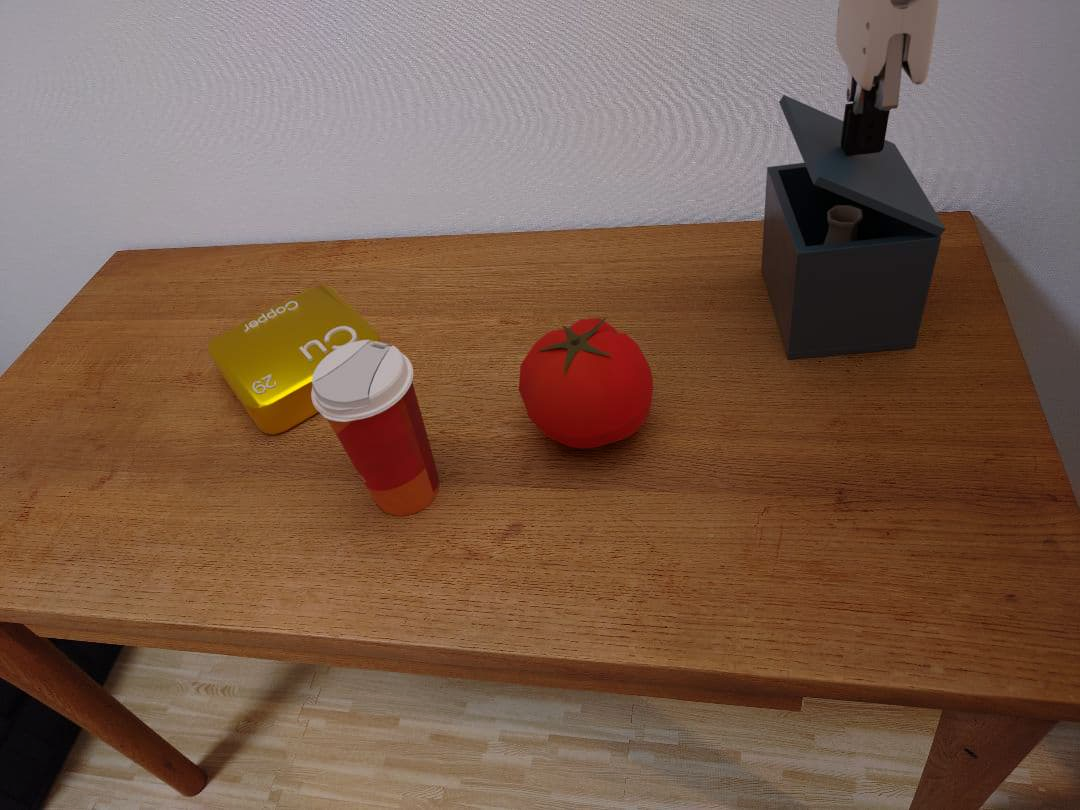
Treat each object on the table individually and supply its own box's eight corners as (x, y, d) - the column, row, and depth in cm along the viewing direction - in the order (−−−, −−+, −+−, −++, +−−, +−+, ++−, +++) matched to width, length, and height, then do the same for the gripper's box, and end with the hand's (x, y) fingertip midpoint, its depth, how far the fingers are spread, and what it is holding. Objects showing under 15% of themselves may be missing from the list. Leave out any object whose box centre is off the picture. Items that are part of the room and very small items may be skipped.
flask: (809, 271, 85) (818, 188, 78) (880, 286, 82) (896, 199, 75) (786, 312, 81) (793, 228, 74) (859, 329, 78) (874, 242, 71)
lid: (813, 184, 64) (819, 176, 63) (778, 102, 74) (783, 94, 74) (939, 236, 67) (946, 229, 67) (889, 150, 78) (894, 143, 77)
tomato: (667, 391, 77) (662, 299, 69) (641, 482, 69) (632, 391, 62) (549, 377, 81) (532, 289, 73) (512, 463, 73) (489, 375, 65)
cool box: (787, 359, 77) (797, 253, 69) (761, 269, 88) (766, 166, 79) (915, 348, 76) (941, 237, 67) (873, 257, 86) (891, 151, 78)
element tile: (336, 308, 94) (323, 275, 91) (397, 369, 85) (384, 335, 82) (218, 370, 89) (199, 338, 86) (268, 443, 80) (249, 409, 77)
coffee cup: (394, 446, 77) (345, 327, 66) (468, 468, 74) (428, 345, 63) (344, 513, 72) (282, 395, 61) (420, 539, 69) (368, 419, 58)
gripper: (990, -65, 51) (933, 189, 64) (919, -124, 62) (882, 105, 75) (868, -47, 52) (836, 200, 65) (818, -108, 63) (799, 116, 75)
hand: (861, 149), depth 70 cm, fingers closed
